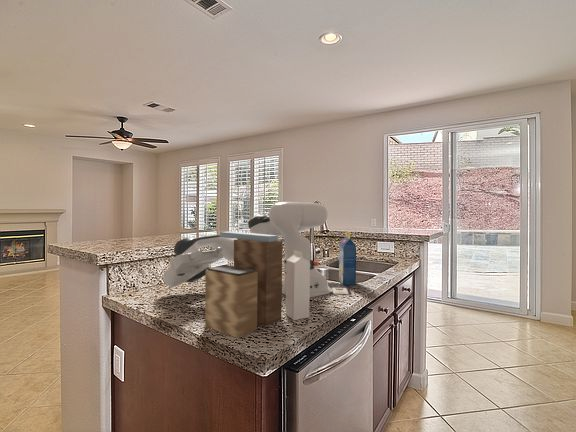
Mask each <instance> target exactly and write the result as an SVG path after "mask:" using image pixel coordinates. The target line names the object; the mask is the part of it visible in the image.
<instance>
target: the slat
mask: <svg viewBox="0 0 576 432" xmlns="http://www.w3.org/2000/svg"><path fill="white" fill-rule="evenodd" d="M219 235H220V237H223V238H233V239H243V240H253V241H263V242H273V241H278V240H279V236H278V235H268V234H256V233H251V232H242V231H220V232H219Z"/></svg>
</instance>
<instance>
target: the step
mask: <svg viewBox="0 0 576 432" xmlns="http://www.w3.org/2000/svg"><path fill="white" fill-rule="evenodd" d="M204 277H205V284H204V286H205V294H204V295H205V298H204V299H205V303H204V309H205V310H204V312H205V314H204V319H205V321H204V324H205V325H204V327H205V328H209V329H211V330H214V331H217V332H220V333H223V334H225V335H228V336H231V337H234V338H237V339H240V338H241V337H244V336H246V335H248V334H250V333H252V332H254V331H256V330H258V325H257V288H258V272H255V270H253V269H247V268H241V267H235V266H234V265H229V264H221V265H218V266H212V267H209V268H208V270H205V276H204Z"/></svg>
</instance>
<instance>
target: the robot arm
mask: <svg viewBox="0 0 576 432" xmlns="http://www.w3.org/2000/svg"><path fill="white" fill-rule="evenodd" d="M327 219H328V211H327V208H326V207H325V205H324V204H321V203H316V202H311V201H307V202H306V201H305V202H304V201H303V202H302V201H282V202H276V203H274V204H272V205H271V207H270V209H269V212H268V216H267V215H265V214H257V215H253V216H252V217H251V218H250V219H249V220H248V222H247V226H248V229H249V231H250V233H256V234H268V235H278V237H282V238H283V240H284V241H283V242H284V259H283V273H284V274H283V275H284V276H283V280H282V295H284V296H286V260H287V259H289V258H290V257H291V256H293V255H294V250H295V251H299V252H302V253H303V258H305V259H306V260H308V261H310V296H309V299H310V298H315V297H320V296H323V295H328V294H330V293H331V292H333V290H332V289H331V288H330V287H328V281H327V278H326V277H325V275H323V274H322V273H321V272H319V270H317V269H316V268H315V267H318V266H319V264H320V263H319V261H317V260H312V244H311V243H312V242H311V241H310V239H309V238H307V237H306V236H304V235H302V234H300V232H301V231H305V230H308V229H313V228H317V227H318V228H319V227H321V226H324V224H326V221H327ZM205 247H211V248H212V249H211V250H210V249H209V250H202V249H201V248H205ZM173 253H174V254H175V256H174V258H173V257H172V258H170V259H169V267H168V268H167V269H165V271H164V272H163V274H162V278H163V281H164V283H165V285H166V286H168V287H169V288H177V287H179V286H181V285H182V284H184V283H192V284H193V283H195V282H197V281H199V280H200V279H201V278H203V277H205V270H208V268H210V266H209V265H212V264H215V263H216V262H218V261H220V260H221V259H224V260H227V261H229V262H234V239H233V238H223V237H220V234H215V235H212V234H211V235H206V236H205V235H204V236H198V237H185V238H181V239H180V240H178V241H177V242H176V243H175V244H174V247H173Z"/></svg>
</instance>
